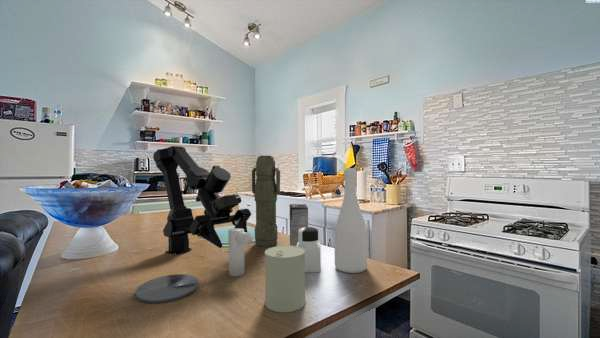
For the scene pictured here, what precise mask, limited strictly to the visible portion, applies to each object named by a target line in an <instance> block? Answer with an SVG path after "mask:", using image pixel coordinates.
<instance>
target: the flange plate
mask: <svg viewBox="0 0 600 338" xmlns="http://www.w3.org/2000/svg"><path fill="white" fill-rule="evenodd" d="M198 288H199V279H198V277H196V276H194V275H191V274H182V273H181V274H180V273H178V274H169V275H164V276H159V277H155V278H153V279H150V280H147V281H145V282H143V283H141V284H140V285H139V286H138V287H137V288H136V290H135V298H136V300H137V301H139V302H141V303H146V304H164V303H169V302H174V301H177V300H181V299H183V298H186V297H188V296H191V295H192V294H193V293H195V292H196V291H197V290H198Z"/></svg>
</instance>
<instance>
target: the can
mask: <svg viewBox="0 0 600 338" xmlns="http://www.w3.org/2000/svg"><path fill="white" fill-rule="evenodd" d="M264 264H265V265H264V269H265V271H264V277H265V278H264V279H265V280H264V281H265V288H264V290H265V294H264V295H265V297H264V298H265V299H264V305H265V308H267V309H269V310H270V311H272V312H276V313H293V312H297V311H299V310H300V309H303V307H304V306H305V305H306V303H307V299H306V287H305V285H306V283H305V281H306V272H305V250H304V249H303V248H300V247H297V246H290V245H278V246H277V245H276V246H274V247H268V248H266V250H264Z"/></svg>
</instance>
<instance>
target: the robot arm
mask: <svg viewBox="0 0 600 338" xmlns="http://www.w3.org/2000/svg"><path fill="white" fill-rule="evenodd" d="M152 157H153V161H154V162H155V166H156V168H157V169H158V170H159V171H160V172H161V173H162V176H163V180H164V186H165V191H166V195H167V199H168V205H169V209H170V210H169V213H168V215H167V216H166V217H167V220H166V221H167V222H166V223H165V225H164V227H163V229H162V231H163V236H164V237H166V238H168V250H165V251H164V253H165V254H172V255H181V254H184V253H186V252H189V251H191V250H192V248H191V247H190V239H189V234H191V236H197V237H201V238H202V239H204V240H207V241H208V242H210V243H212V244H213V245H214V246H215V247H217V248H218V249H222V247H223V242H222V241H221V239H220V237H219V235H218V233H217V231H216V230H215V226H216V225H217V226H218V225H223V224H228V223H231V224H232V225H233V226H234V229H235V228H241V229H244V232H246V233H248V228H247V227H248V226H247V221H248V220H249V218H250V217H251V216H252V212H251V211H250V209H249V208H241V209H237V210H236V212H235V213H234V214H232V215H231V213H232V212H233V211H234V210H233V208H235V207H238V206H239V204H241V203H242V198H241V196H240V194H239V193H233V194H228V195H224V196H223V195H222V196H220V193H222V192H223V191H224V189H225V187H227V184H228V182H229V181H230V179H231V177H232V175H231V173H230V171H228V170H226V169H224V168H222V167H220V165H212V167H211V170H210V171H209V170H207V169H206V168H203V167H200V166H199V165H198V164H197V162H195V160H194V159H193V158H192V157H191V155H190V154H189V153H188V152H187V150H186V147H184V146H180V145H171V146H169V147H166V148H161V149H160V148H159V149H157V150H156V151H154V153H153V156H152ZM178 167H179V168H180V169H181V171H182V172H183V173H184V174H185V183H186V184H187V187H188V188H189V190H191V191H198V192H197V195H196V197H195V202H196V203H197V202H201V204H202V206H203V208H204V210H203V214H201V215H196V216H195V217H194V215H193V210H192V209H191V207H187V206H186V205H185V201H184V197H183V194H182V193H183V192H182V189H181V185H180V184H181V183H180V180H179V175H178V170H177V169H178Z"/></svg>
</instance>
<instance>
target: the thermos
mask: <svg viewBox="0 0 600 338" xmlns="http://www.w3.org/2000/svg"><path fill="white" fill-rule="evenodd" d="M251 191H252V194H253V195H254V201H255V225H254V241H255V243H254V244H255V245H254V246H255V247H257V248H264V249H265V248H266V249H269V248H271V247H276V246H277V245H278V225H277V201H278V195H279V194H280V193H281V171H280V169H279V168H278V167H276V162H275V159H274V156H272V155H259V156H258V157H257V158H256V162H255V167H253V168H252V170H251Z"/></svg>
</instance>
